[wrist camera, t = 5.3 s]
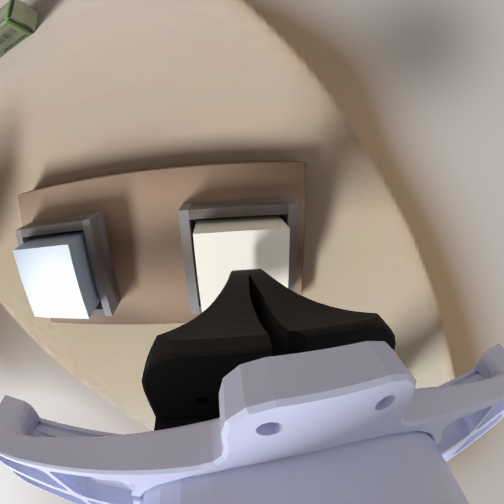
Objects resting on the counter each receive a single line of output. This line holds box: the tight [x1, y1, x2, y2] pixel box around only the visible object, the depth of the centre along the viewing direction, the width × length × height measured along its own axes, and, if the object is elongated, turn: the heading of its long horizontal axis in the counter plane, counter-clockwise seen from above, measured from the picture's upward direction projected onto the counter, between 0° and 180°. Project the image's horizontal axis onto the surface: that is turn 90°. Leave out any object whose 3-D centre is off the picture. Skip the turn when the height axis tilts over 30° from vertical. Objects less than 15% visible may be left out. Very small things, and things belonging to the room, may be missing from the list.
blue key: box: [13, 231, 101, 319], centre depth 13 cm, size 4×4×2 cm
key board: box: [16, 161, 306, 324], centre depth 16 cm, size 10×19×4 cm, turn 91°
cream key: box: [193, 216, 290, 312], centre depth 14 cm, size 4×4×2 cm
